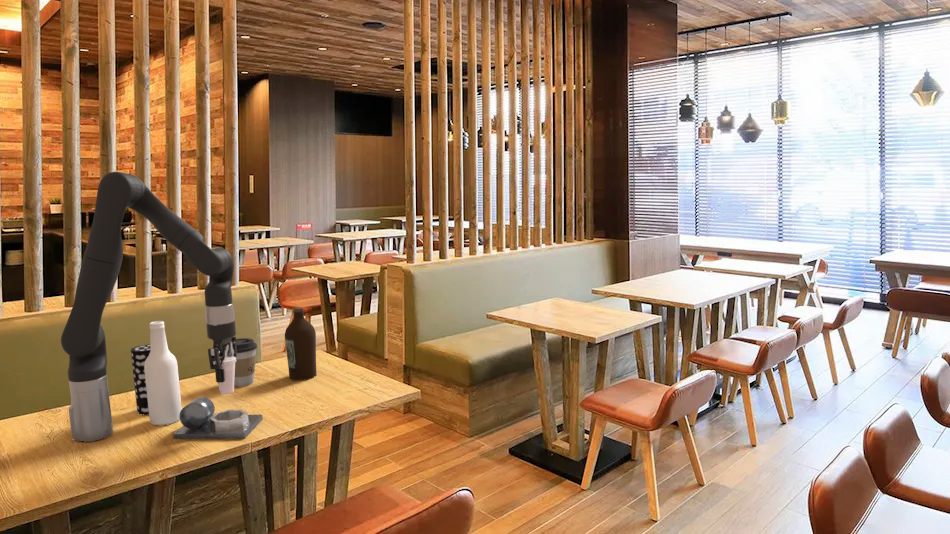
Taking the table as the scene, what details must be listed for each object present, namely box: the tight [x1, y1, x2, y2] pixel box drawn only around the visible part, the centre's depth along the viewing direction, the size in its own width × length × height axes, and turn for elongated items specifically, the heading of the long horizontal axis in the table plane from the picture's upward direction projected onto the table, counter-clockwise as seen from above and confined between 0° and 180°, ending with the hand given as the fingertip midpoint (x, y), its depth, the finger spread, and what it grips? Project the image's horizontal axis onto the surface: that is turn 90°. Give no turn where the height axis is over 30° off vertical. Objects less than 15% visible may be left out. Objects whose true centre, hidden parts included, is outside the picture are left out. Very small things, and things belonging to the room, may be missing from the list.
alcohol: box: [144, 320, 183, 426], centre depth 194 cm, size 9×9×30 cm
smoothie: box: [213, 356, 236, 395], centre depth 186 cm, size 6×6×14 cm
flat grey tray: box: [172, 396, 264, 440], centre depth 188 cm, size 20×14×8 cm
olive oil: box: [284, 306, 317, 381], centre depth 234 cm, size 11×11×25 cm
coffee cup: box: [234, 337, 258, 388], centre depth 229 cm, size 11×11×15 cm
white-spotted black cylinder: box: [130, 344, 151, 416], centre depth 204 cm, size 8×8×20 cm
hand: (225, 378), depth 187 cm, fingers closed on smoothie, 6 cm apart
